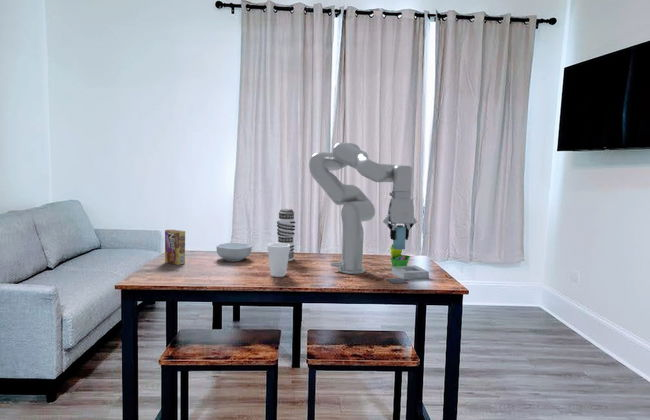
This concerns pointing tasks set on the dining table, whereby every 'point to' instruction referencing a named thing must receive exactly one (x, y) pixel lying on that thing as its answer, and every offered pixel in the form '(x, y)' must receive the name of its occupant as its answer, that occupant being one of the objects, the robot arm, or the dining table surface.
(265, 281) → the dining table surface
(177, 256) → the candy box
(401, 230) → the blue cylinder
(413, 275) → the frame
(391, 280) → the mat
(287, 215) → the decorative candle
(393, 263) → the fruit basket
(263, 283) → the dining table surface
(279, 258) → the foam cup
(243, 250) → the cereal bowl
